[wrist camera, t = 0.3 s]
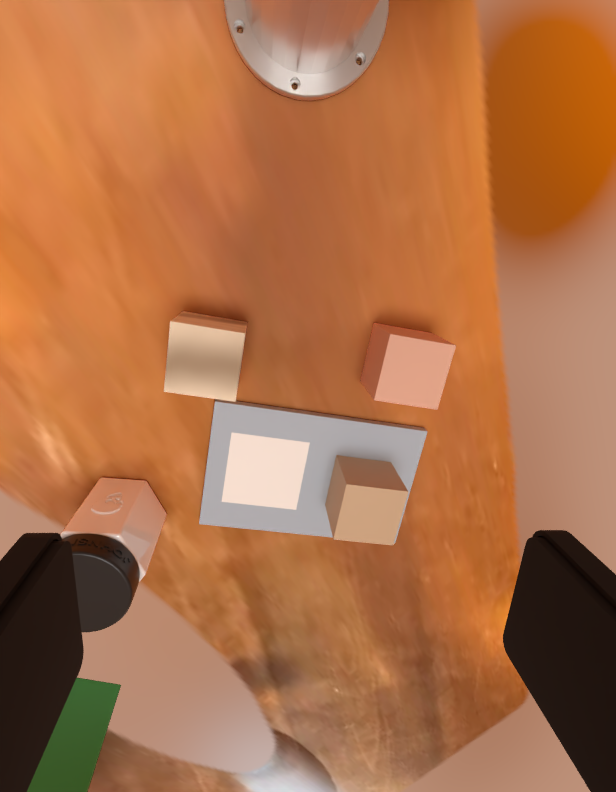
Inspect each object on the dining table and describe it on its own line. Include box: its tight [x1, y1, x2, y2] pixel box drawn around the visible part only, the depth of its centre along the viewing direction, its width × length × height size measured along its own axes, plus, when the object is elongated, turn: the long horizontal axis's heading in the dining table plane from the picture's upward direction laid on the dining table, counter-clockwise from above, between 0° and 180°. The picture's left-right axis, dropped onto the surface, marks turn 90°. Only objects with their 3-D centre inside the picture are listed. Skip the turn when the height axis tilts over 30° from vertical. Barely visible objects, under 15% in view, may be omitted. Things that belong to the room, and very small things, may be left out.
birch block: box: [164, 311, 248, 402], centre depth 40 cm, size 6×6×6 cm
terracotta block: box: [360, 323, 456, 410], centre depth 42 cm, size 6×6×6 cm
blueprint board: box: [199, 399, 427, 545], centre depth 44 cm, size 14×22×7 cm, turn 79°
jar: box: [60, 477, 167, 632], centre depth 41 cm, size 9×8×12 cm
